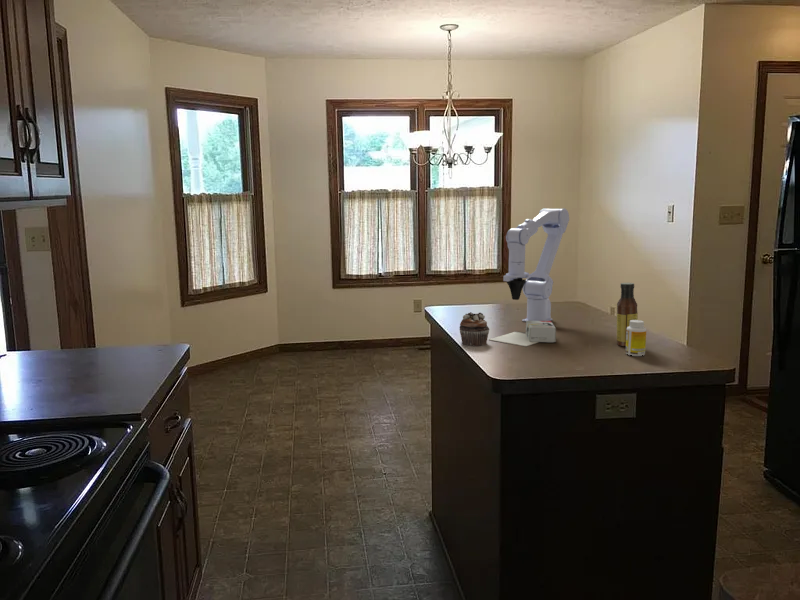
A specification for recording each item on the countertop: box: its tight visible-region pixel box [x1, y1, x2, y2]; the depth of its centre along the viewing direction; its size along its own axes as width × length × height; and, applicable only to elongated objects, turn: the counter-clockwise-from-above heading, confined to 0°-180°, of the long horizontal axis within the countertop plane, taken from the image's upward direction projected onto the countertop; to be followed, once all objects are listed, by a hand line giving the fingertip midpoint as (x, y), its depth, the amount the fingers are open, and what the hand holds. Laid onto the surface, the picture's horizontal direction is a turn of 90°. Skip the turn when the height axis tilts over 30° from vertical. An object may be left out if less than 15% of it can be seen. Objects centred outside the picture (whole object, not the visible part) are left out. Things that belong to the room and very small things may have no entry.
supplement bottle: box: [625, 319, 647, 357], centre depth 192 cm, size 6×6×10 cm
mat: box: [488, 331, 539, 347], centre depth 214 cm, size 16×14×1 cm
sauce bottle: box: [616, 282, 639, 348], centre depth 203 cm, size 7×6×20 cm
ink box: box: [525, 320, 557, 343], centre depth 214 cm, size 9×5×12 cm
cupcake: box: [459, 312, 490, 347], centre depth 208 cm, size 10×10×10 cm
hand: (515, 299), depth 234 cm, fingers closed
